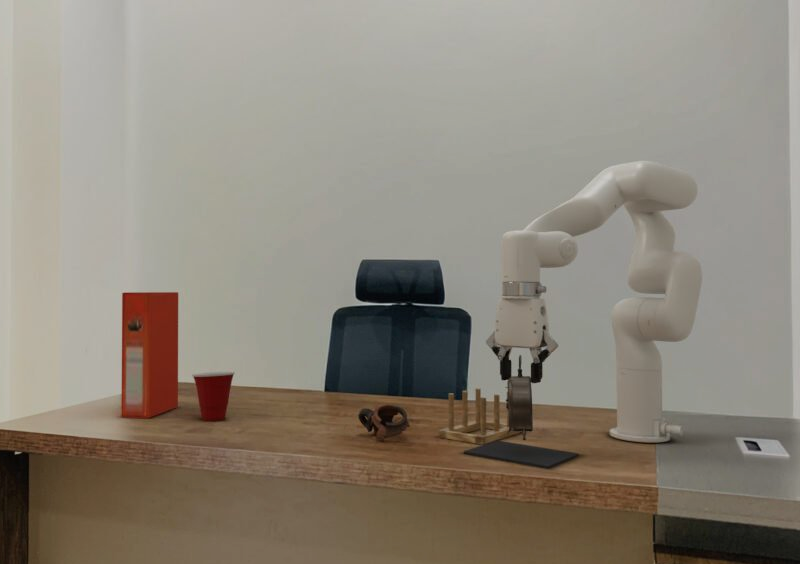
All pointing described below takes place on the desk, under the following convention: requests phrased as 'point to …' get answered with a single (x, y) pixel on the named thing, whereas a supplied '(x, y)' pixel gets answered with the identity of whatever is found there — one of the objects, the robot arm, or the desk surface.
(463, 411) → the dowel rack
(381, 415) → the pottery mug
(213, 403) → the plastic cup
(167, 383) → the file binder
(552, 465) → the desk mat
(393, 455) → the desk surface
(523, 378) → the alarm clock
